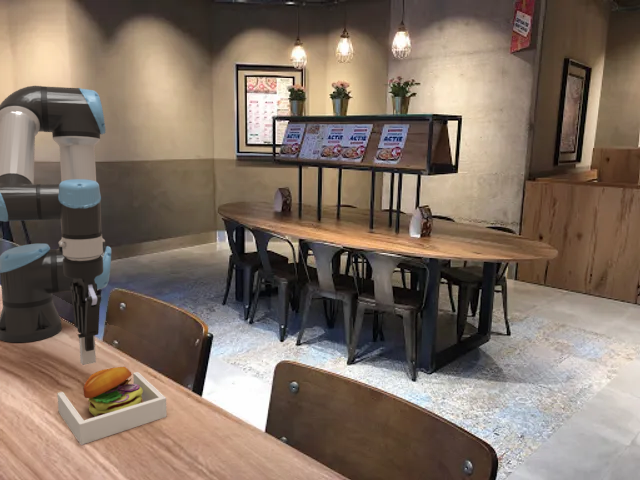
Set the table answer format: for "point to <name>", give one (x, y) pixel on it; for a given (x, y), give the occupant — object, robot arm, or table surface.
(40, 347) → the table surface
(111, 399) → the cheeseburger
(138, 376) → the box
